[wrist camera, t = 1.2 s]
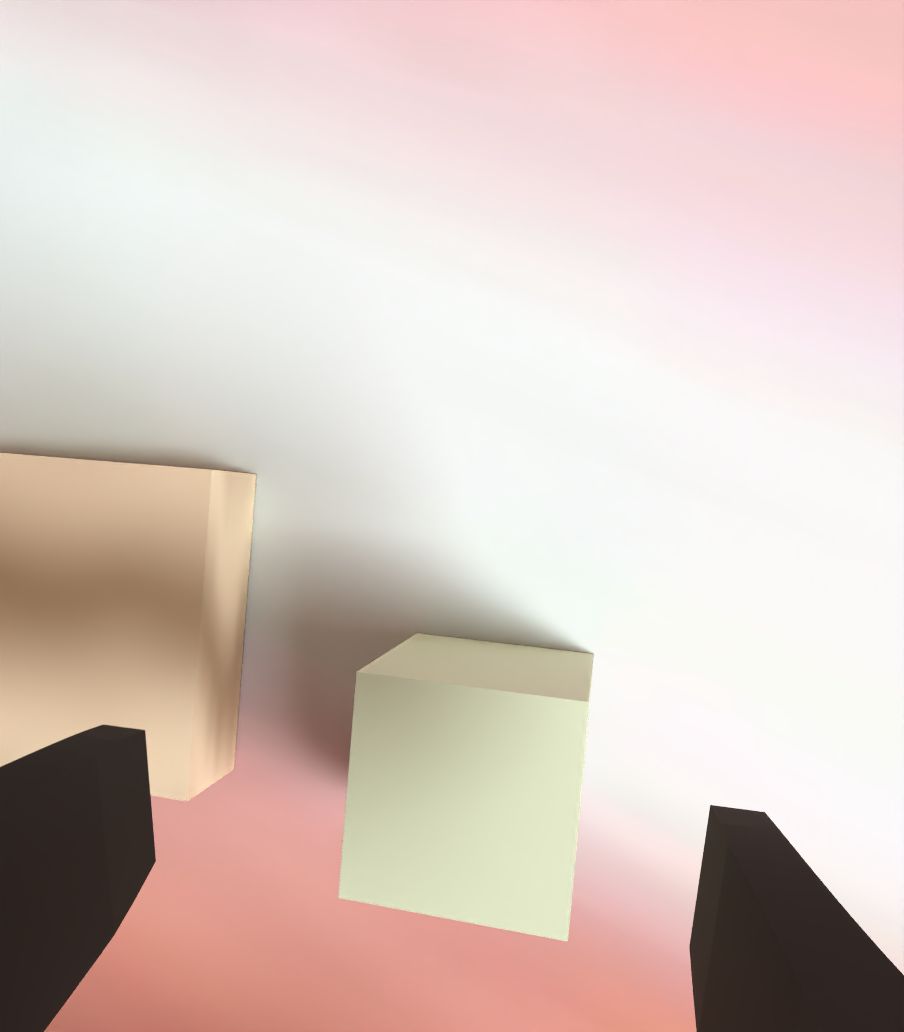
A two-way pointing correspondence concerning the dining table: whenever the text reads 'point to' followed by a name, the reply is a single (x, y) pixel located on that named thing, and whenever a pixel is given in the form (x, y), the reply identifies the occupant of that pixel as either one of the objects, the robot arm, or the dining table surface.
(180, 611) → the birch slab
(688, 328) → the dining table surface
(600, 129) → the dining table surface
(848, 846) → the dining table surface
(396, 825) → the sage cube
